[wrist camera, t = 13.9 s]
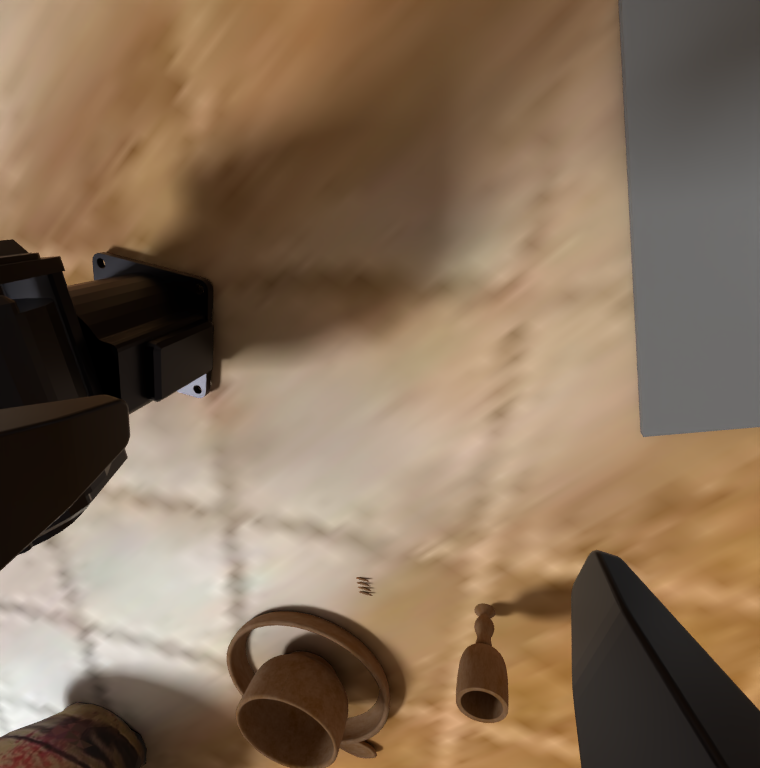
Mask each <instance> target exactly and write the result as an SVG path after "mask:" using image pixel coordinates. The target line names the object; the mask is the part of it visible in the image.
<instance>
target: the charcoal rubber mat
mask: <svg viewBox="0 0 760 768" xmlns="http://www.w3.org/2000/svg"><path fill="white" fill-rule="evenodd" d="M618 1H619V20H620V40H621V59H622V78H623V98H624V117H625V137H626V156H627V176H628V195H629V215H630V234H631V254H632V273H633V293H634V312H635V332H636V351H637V371H638V390H639V410H640V429H641V434H642V435H643V437H647V436H659V435H671V434H682V433H694V432H706V431H717V430H729V429H741V428H752V427H760V0H618Z"/></svg>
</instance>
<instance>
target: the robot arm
mask: <svg viewBox="0 0 760 768" xmlns="http://www.w3.org/2000/svg"><path fill="white" fill-rule="evenodd" d="M103 260H104V261H105V264H106V265H104V263H103ZM62 271H65V269H64V266H63V263H62V260H61V257H60V256H57V257H44V258H40V255H39V253H28V252H27V251H26V250H25V249H24V248H22V247H21V246H20V245H19V244H18V243H17V242H15V241H14V240H2V241H0V571H1V570H2V569H3V568H4V567H5V566H6V565H7V564H8V563H9V562H11V561H12V560H13V559H14V558H15V557H16V556H17V555H19V554H22V553H25V552H27V551H28V550H30V549H31V548H32V547H33V546H35V545H37V544H39V543H41V542H43V541H45V540H48V539H49V538H51V537H53V536H54V535H56V534H58V533H59V532H61V531H63V530H64V529H65V528H66V527H68V526H69V525H70V524H72V523H73V522H74V521H75V520H76V519H77V518H78V517H79V516H80V515H81V514H82V513H83V512H84V510H85V509H86V508H87V507H88V506H89V504H90V503H91V502H92V501H93V499H94V498H95V497H96V496H97V494H98V493H99V492H100V491H101V490H102V488H103V487H104V486H105V485H106V484H107V482H108V481H109V480H110V479H111V477H112V476H113V475H114V474H115V473H116V471H117V470H118V469H119V468H120V466H121V465H122V464H123V463H124V462H125V460H126V459H127V454H126V451H125V447H126V445H127V444H128V441H129V438H130V426H129V414H131V413H133V412H134V411H136V410H138V409H140V408H141V407H143V406H145V405H146V404H148V403H150V402H152V401H156V402H159V401H161V400H163V399H164V398H166V397H168V396H169V395H171V394H173V393H174V392H176V391H177V392H180V393H184V394H187V395H190V396H193V397H197V398H202V397H204V396H206V395H207V394H208V393H209V392H210V379H211V370H212V366H213V334H214V326H213V324H212V310H213V286H212V284H211V282H210V281H209V280H208V279H206V278H203V277H199V276H195V275H191V274H188V273H184V272H180V271H176V270H172V269H168V268H165V267H161V266H157V265H153V264H149V263H145V262H141V261H138V260H134V259H130V258H126V257H122V256H118V255H115V254H111V253H107V252H102V253H97V254H95V255H94V256H93V272H94V281H89V282H84V283H79V284H74V285H69V286H67V284H66V281H65V278H64V276H63V273H62ZM200 285H202V287H203V289H204V292H201V290H200V288H199V286H200ZM198 386H200V388H201V389H202V391H201V390H200V389H199V388H198ZM571 627H572V688H573V699H574V709H575V717H576V726H577V734H578V742H579V751H580V759H581V767H582V768H760V711H759V709H758V708H757V707H756V706H755V705H754V704H753V703H752V702H751V701H750V700H749V698H748V697H747V696H746V695H745V694H744V693H743V692H742V691H741V690H740V689H739V687H738V686H737V685H736V684H735V683H734V682H733V681H732V680H731V679H730V678H729V676H728V675H727V674H726V673H725V672H724V671H723V670H722V669H721V668H720V667H719V665H718V664H717V663H716V662H715V661H714V660H713V659H712V658H711V657H710V656H709V654H708V653H707V652H706V651H705V650H704V649H703V648H702V647H701V646H700V645H699V643H698V642H697V641H696V640H695V639H694V638H693V637H692V636H691V635H690V634H689V632H688V631H687V630H686V629H685V628H684V627H683V626H682V625H681V624H680V623H679V621H678V620H677V619H676V618H675V617H674V616H673V615H672V614H671V613H670V612H669V611H668V609H667V608H666V607H665V606H664V605H663V604H662V603H661V602H660V601H659V600H658V598H657V597H656V596H655V595H654V594H653V593H652V592H651V591H650V590H649V589H648V587H647V586H646V585H645V584H644V583H643V582H642V581H641V580H640V579H639V578H638V576H637V575H636V574H635V573H634V572H633V571H632V570H631V569H630V568H629V567H628V565H627V564H626V563H625V562H624V561H623V560H622V559H621V558H619V557H618V556H615V555H612V554H609V553H605V552H602V551H599V550H595V551H592V552H591V553H590V554H589V556H588V558H587V559H586V561H585V563H584V565H583V567H582V569H581V571H580V573H579V575H578V576H577V578H576V580H575V582H574V585H573V588H572V594H571Z"/></svg>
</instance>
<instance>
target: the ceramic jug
mask: <svg viewBox="0 0 760 768" xmlns="http://www.w3.org/2000/svg"><path fill="white" fill-rule="evenodd" d="M144 764H146V747H145V744H144V742H143V740H142V738H141V736H140V735H139V734H137V733H136V732H134V731H132V730H130V728H129V727H128V725H127V724H126V723H125V722H124V721H123V720H121V719H120V718H119V717H118V716H117V715H115V714H113V713H112V712H110V711H108V710H107V709H104V708H102V707H100V706H97V705H94V704H84V703H75V704H72V705H70V706H68V707H67V708H65V709H64V711H62V712H60V713H58V714H56V715H53V716H51V717H49V718H46V719H44V720H42V721H39V722H37V723H34V724H31V725H28V726H25V727H23V728H20V729H17V730H15V731H12V732H10V733H8V734H6V735H4V736H2V737H0V768H140V767H141V766H143V765H144Z"/></svg>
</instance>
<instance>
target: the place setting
mask: <svg viewBox="0 0 760 768" xmlns="http://www.w3.org/2000/svg"><path fill="white" fill-rule="evenodd" d="M357 579H360V580H363V581H367V582H369V581H368V580H366V579H364V578H361V577H357ZM357 583H358V584H362V585H365V586H370V585H368V584H365V583H363V582H357ZM358 588H360V589H364V590H367V591H371V590H369V589H367V588H365V587H358ZM360 593H362V594H366V595H370V596H372V595H371V594H369V593H367V592H364V591H360ZM475 613H476V614H477V615H478V616H479V617H478V618H477V620H476V622H475V626H474V627H475V631H476V634H477V640H476V644H473V645H471V646H469V647H468V648H466V650H465V651H464V652H463V654H462V657H461V660H460V664H459V670H458V677H457V687H456V704H457V706H458V708H459V709H460V711H461V712H462V713H463V714H465V715H466V716H467V717H469V718H471V719H473V720H476V721H479V722H484V723H495V722H499V721H501V720H503V719H504V718H505V717H506V716H507V714H508V678H507V670H506V665H505V662H504V659H503V657H502V656H501V654H500V653H499V652H498V651H497V650H496V649H495V648H493V647H492V644H491V637H492V635H493V633H494V624H493V622H492V620H491V619H490V618H492V617H494V615H495V610H494V608H493V607H492V606H490V605H488V604H478V605H477V606H476V607H475ZM271 625H282V626H291V627H297V628H301V629H305V630H308V631H311V632H314V633H317V634H319V635H321V636H324V637H326V638H328V639H330V640H332V641H333V642H335V643H337V644H339V645H340V646H342V647H343V648H345V649H346V650H348V651H349V652H350V653H351V654H353V655H354V656H355V657H356V658H357V659H358V660H359V661H360V662H361V663H363V664H364V665H365V667H366V668H367V669H368V670H369V671H370V673H371V674H372V675H373V677H374V678H375V680H376V682H377V684H378V686H379V688H380V693H379V697H378V699H377V701H376V703H375V704H374V706H373V707H372V708H371V709H369V710H368V711H367V712H365V713H363V714H361V715H359V716H356V717H352V718H347V717H348V699H347V695H346V692H345V689H344V687H343V685H342V683H341V682H340V680H339V679H338V677H337V676H336V673H335V671H334V669H333V667H332V666H331V665H330V664H329V663H328V662H327V661H326V660H324V659H323V658H321V657H320V656H318V655H316V654H313V653H310V652H305V651H297V652H293V653H291V654H285V655H280V656H276V657H274V658H272V659H270V660H268V661H267V662H266V663H264V664H263V665H262V666H261V667H260V668H259V670H258V671H257V672H256V674H254V672H253V670H252V669H251V667H250V664H249V662H248V659H247V655H246V641H247V638H248V636H249V633H250V632H251V631H252V629H255V628H258V627H263V626H271ZM227 666H228V670H229V673H230V676H231V678H232V681H233V683H234V684H235V686H236V688H237V689H238V691H239V692H240V694H241V695H242V696H243V697H242V699H241V701H240V703H239V705H238V707H237V709H236V721H237V725H238V727H239V729H240V731H241V733H242V735H243V736H244V737H245V739H246V740H247V741H248V742H249V743H250V744H251V745H252V746H253V747H254V748H255V749H256V750H257V751H259V752H260V753H261V754H263V755H264V756H266V757H267V758H269V759H271V760H273V761H275V762H277V763H279V764H281V765H284V766H287V767H290V768H326V767H328V766H330V765H331V764H332V763H333V762H334V761H335V759H336V757H337V755H338V751H339V748H341V749H343V750H344V751H346V752H348V753H350V754H352V755H354V756H357V757H360V758H375V757H376V756H377V754H376V751H375V749H374V748H373V747H372V746H371V745H370V744H368V743H367V742H365V740H367V739H369V738H371V737H373V736H374V735H376V734H377V733H378V732H379V731H380V730H381V729H382V728H383V726H384V724H385V723H386V720H387V717H388V713H389V707H390V692H389V685H388V682H387V679H386V676H385V673H384V671H383V669H382V667H381V665H380V664H379V662H378V661H377V659H376V657H375V656H374V655H373V654H372V652H371V651H370V650H369V649H368V648H367V647H366V646H365V645H364V644H363V643H362V642H361V641H360V640H358V639H357V638H356V637H355V636H354V635H352V634H351V633H349V632H348V631H346V630H345V629H343V628H341V627H340V626H338V625H336V624H334V623H332V622H330V621H327V620H325V619H323V618H320V617H317V616H314V615H310V614H306V613H301V612H294V611H277V612H271V613H266V614H263V615H260V616H258V617H255V618H254V619H252V620H250V621H249V622H247V623H246V624H245V625H244V626H242V627H241V628H240V629H239V631H238V632H237V633H236V635H235V636H234V637H233V639H232V640H231V642H230V645H229V647H228V651H227Z"/></svg>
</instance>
